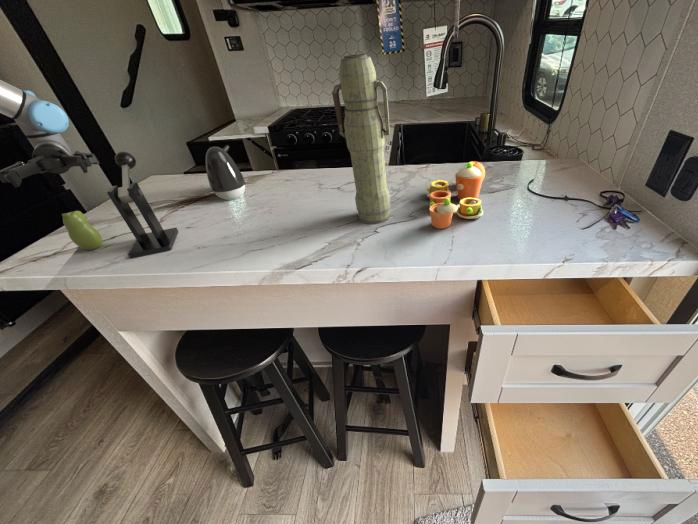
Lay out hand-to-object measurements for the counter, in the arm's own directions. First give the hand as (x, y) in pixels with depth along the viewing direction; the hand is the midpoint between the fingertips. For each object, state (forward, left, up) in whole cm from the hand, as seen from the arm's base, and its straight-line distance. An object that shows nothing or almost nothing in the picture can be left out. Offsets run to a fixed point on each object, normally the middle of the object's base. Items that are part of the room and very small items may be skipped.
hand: (48, 174), depth 82 cm
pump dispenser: (+38, -2, -17) cm, 42 cm away
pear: (0, -10, -17) cm, 19 cm away
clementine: (+95, -52, -17) cm, 109 cm away
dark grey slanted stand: (+13, -20, -17) cm, 29 cm away
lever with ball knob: (+15, -14, -3) cm, 21 cm away
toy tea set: (+80, -60, -17) cm, 101 cm away
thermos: (+62, -48, -17) cm, 80 cm away
